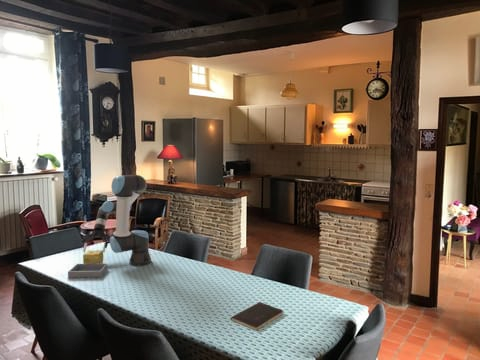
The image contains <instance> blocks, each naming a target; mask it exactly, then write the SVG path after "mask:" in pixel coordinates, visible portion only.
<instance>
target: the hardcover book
mask: <svg viewBox="0 0 480 360" xmlns="http://www.w3.org/2000/svg"><path fill="white" fill-rule="evenodd" d="M283 313H284V310H283V309H280V308H277V307H275V306H272V305H269V304H266V303H264V302H261V301H259V302H257V303H255V304H253V305H252V306H250V307H248V308H245V309H244V310H242V311H240V312H238V313H236V314H234V315H233V316H231V317H230V320H231V321H233V322H236V323H237V324H240V325H242V326H245V327H247V328H249V329H252V330H253V331H257V330H259V329H261V328H262V327H263V326H265V325H267V324H268V323H270V322H272V321H273V320H275V319H277V318H279V317H280V316H281V315H283Z"/></svg>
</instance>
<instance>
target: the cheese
mask: <svg viewBox="0 0 480 360" xmlns="http://www.w3.org/2000/svg"><path fill="white" fill-rule="evenodd" d="M82 264H104V253H103V249H102V250H101V249H100V250H87V251H86V252H85V253H83V255H82Z"/></svg>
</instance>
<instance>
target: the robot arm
mask: <svg viewBox="0 0 480 360" xmlns="http://www.w3.org/2000/svg"><path fill="white" fill-rule="evenodd" d="M147 186H148V184H147V181H146V179H145V178H144V177H143V176H141V175H139V174H132V175H130V174H128V175H118V176H114V178H113V179H112V181H111V191H112V193H113V194H114V197H116V202H112V201H110V200H107V201H105V202H103V204H102V205H101V206H100V207H99V209H98V211H97V216H96V219H95V222H94V228H93V231H91V230H88V232H87V233H86V235H85V236H84V237H83V238H82V240H81V243H82V248H83V249H82V252H83V254H85V253H86V252H87V251H86V250H87V247H88V243H90V241H92V240H93V239H95V238H96V239H97V238H101V239H102V240H103V241H104V242H103V247H102V250H103V254H104V253H105V251H106V249H107V248H108V244H109V245H110V249H111V250H112V252H113V253H114V254H116V253H117V254H119V253H124V252H129V251H131V254H130V257H129V264H130V265H132V266H137V267H138V266H146V265H149V264H151V263H152V257H151V254H150V252H149V251H150V250H149V239H150V238H149V232H147V231H146V230H140V229H134V230H131V231H130V213H131V212H130V211H131V210H132V205H133V203H134V202H135V201H136V200H137V198H138V197H139V196H140V195H142V194H143V193H144V192H145V191H146V190H147ZM113 213H115V230H114V231H113V233H112V236H109V231H108V230H106V231H105V229H106V225H107V221H108V217H109V215H110V214H113ZM104 235H106V238H107V239H106V238H105V236H104Z"/></svg>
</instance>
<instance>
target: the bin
mask: <svg viewBox="0 0 480 360" xmlns="http://www.w3.org/2000/svg"><path fill="white" fill-rule="evenodd" d="M108 267H109V266H108V263H103V264H83V263H76V264H75V265H74V266H72V268H70V269H69V270H68V271H67V279H69V280H70V279H73V280H74V279H101V278H102V277H103V276H104V275H105V274H106V272H108Z"/></svg>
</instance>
